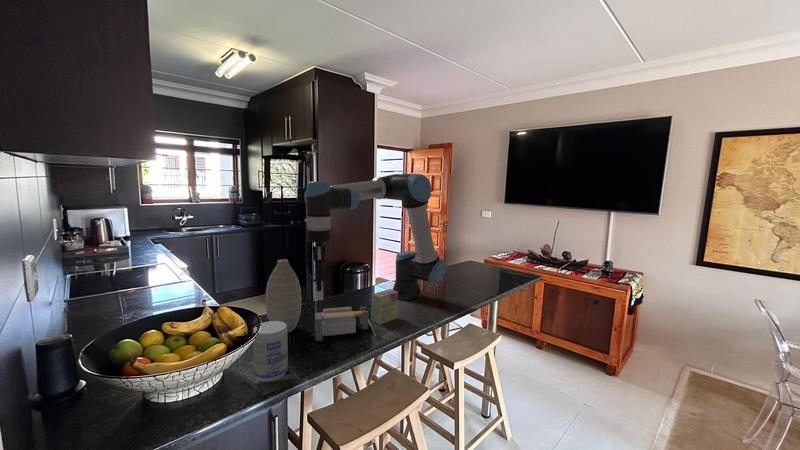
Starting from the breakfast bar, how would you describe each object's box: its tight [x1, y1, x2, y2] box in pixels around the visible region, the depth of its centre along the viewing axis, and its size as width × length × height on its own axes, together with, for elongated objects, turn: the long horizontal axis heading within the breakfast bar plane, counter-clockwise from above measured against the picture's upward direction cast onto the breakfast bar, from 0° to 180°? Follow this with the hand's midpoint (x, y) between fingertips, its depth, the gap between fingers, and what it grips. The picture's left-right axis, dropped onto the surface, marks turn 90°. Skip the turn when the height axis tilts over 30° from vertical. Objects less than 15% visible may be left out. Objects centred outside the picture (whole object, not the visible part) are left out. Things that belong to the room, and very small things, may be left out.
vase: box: [265, 258, 302, 334], centre depth 123 cm, size 13×13×28 cm
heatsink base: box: [322, 306, 377, 338], centre depth 126 cm, size 24×18×8 cm
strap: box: [320, 310, 365, 320], centre depth 126 cm, size 19×4×2 cm, turn 106°
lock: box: [314, 312, 324, 342], centre depth 118 cm, size 2×6×8 cm, turn 16°
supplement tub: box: [252, 320, 289, 383], centre depth 96 cm, size 10×10×15 cm
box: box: [370, 288, 399, 325], centre depth 138 cm, size 10×6×12 cm, turn 134°
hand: (319, 299), depth 109 cm, fingers closed
